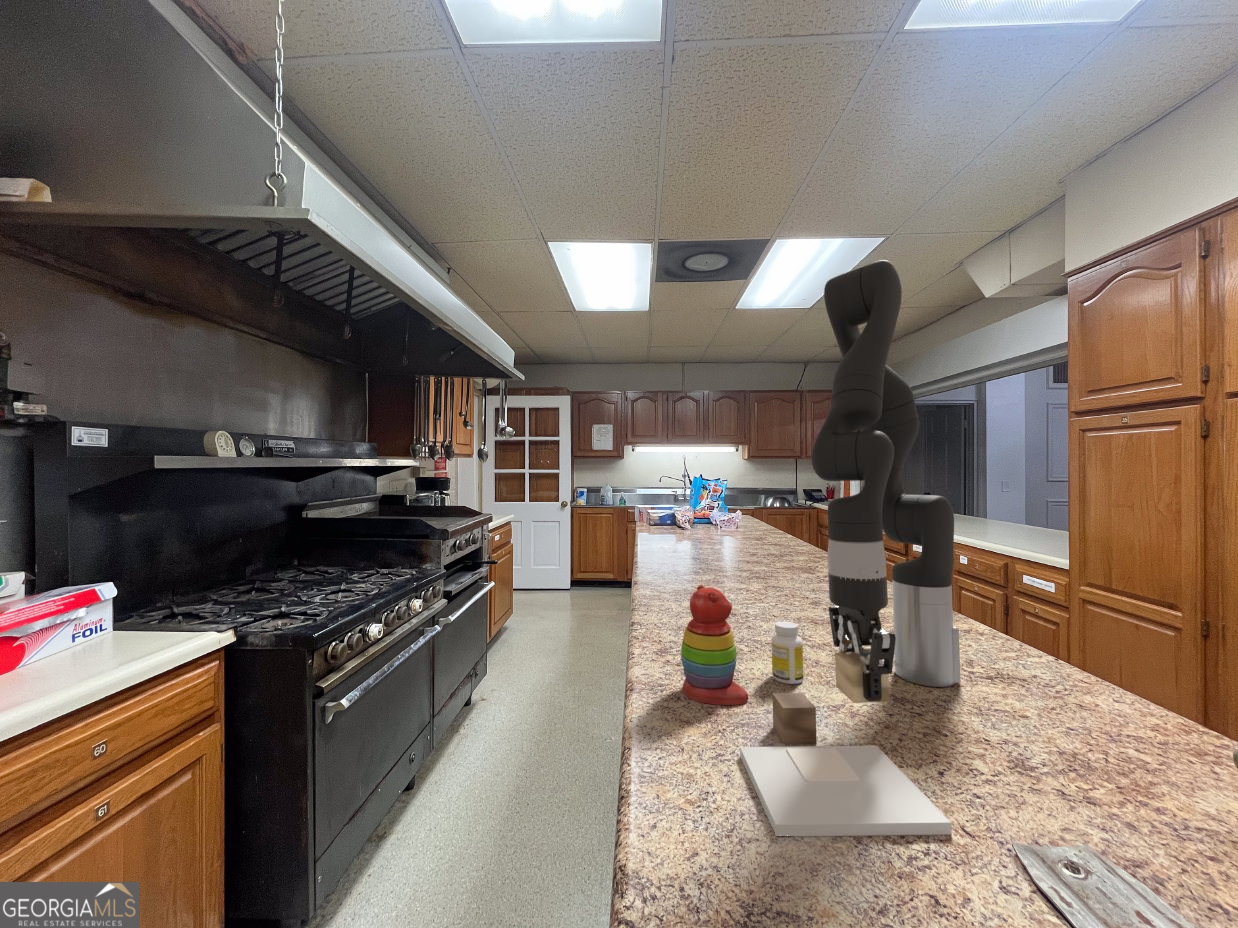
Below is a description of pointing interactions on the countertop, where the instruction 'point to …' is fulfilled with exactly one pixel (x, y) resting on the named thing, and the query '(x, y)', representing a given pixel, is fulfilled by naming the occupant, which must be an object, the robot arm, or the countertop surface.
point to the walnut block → (794, 718)
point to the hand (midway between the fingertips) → (861, 689)
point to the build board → (839, 792)
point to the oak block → (855, 677)
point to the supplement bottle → (787, 654)
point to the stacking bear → (710, 651)
